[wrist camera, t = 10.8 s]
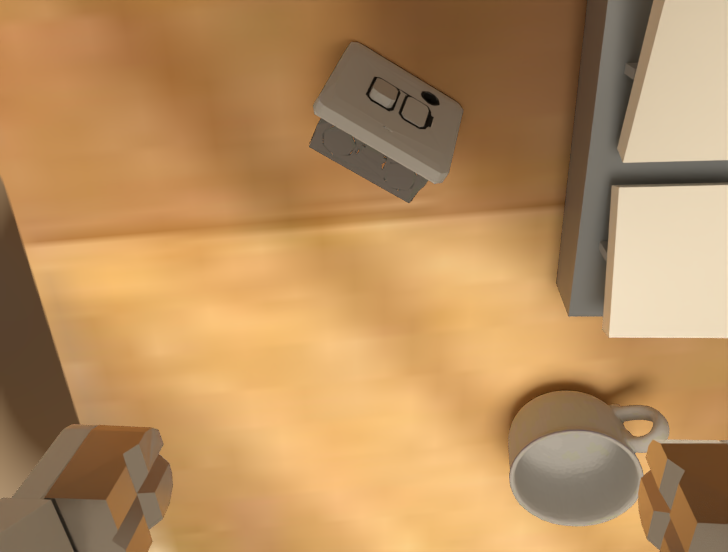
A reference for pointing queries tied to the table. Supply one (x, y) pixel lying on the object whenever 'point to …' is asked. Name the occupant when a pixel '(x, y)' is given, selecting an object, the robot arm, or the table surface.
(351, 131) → the electrical switch
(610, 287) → the block
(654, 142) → the rocker
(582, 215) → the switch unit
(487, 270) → the table surface
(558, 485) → the teacup
